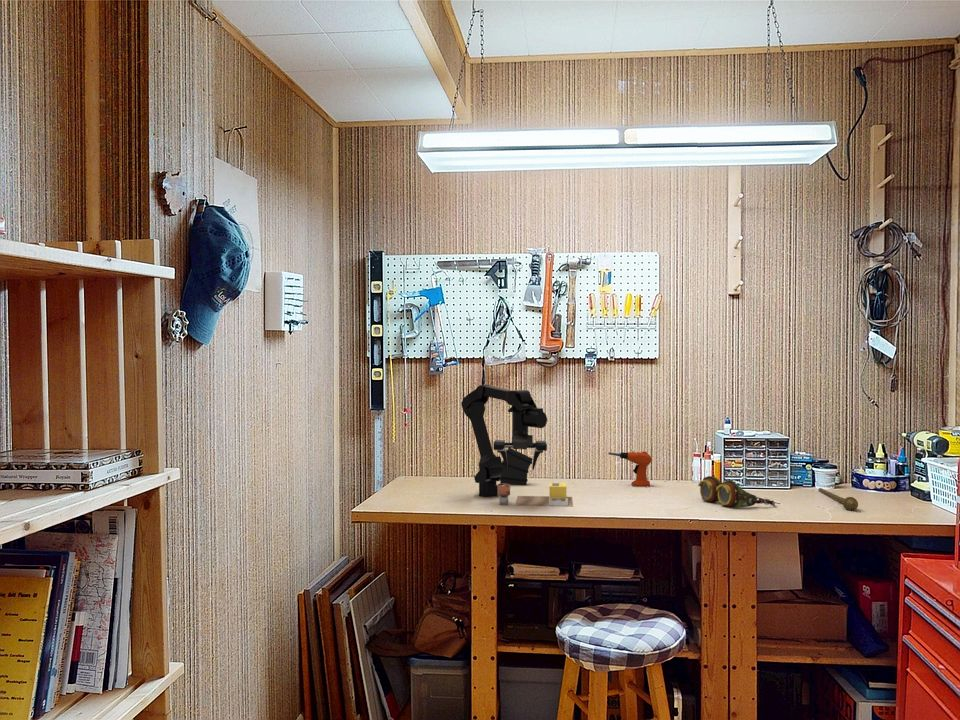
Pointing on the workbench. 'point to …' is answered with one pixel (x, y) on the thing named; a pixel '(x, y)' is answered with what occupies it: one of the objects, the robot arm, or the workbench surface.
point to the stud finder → (558, 490)
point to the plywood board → (537, 501)
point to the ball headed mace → (842, 500)
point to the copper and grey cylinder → (503, 493)
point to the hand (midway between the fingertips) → (519, 469)
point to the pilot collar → (558, 501)
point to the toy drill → (638, 466)
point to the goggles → (728, 493)
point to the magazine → (515, 468)
